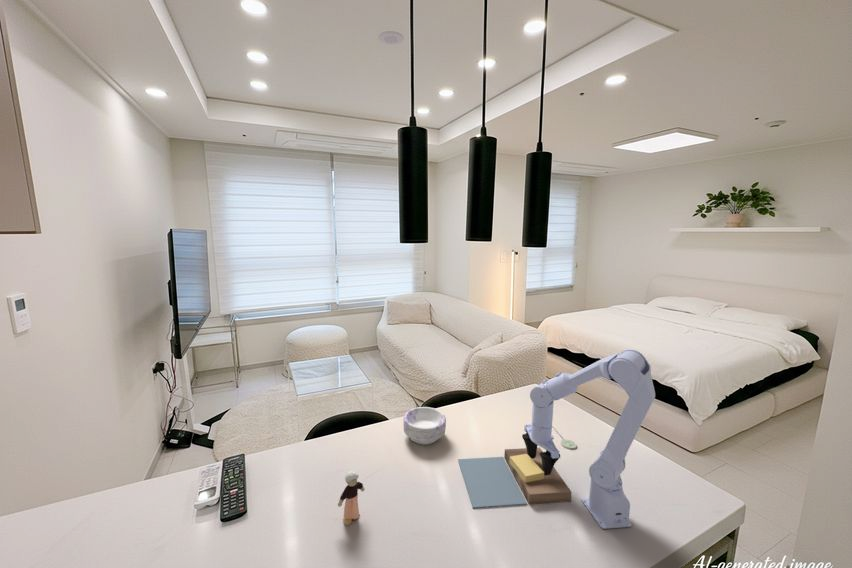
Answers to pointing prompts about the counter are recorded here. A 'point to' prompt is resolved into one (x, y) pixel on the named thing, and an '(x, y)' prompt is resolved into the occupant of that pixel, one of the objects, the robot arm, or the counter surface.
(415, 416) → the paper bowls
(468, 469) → the mat
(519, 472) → the yellow flat block
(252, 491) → the counter surface
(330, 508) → the counter surface
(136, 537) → the counter surface
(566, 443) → the pale green spoon
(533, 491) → the brown wooden board
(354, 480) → the grandmother figurine
